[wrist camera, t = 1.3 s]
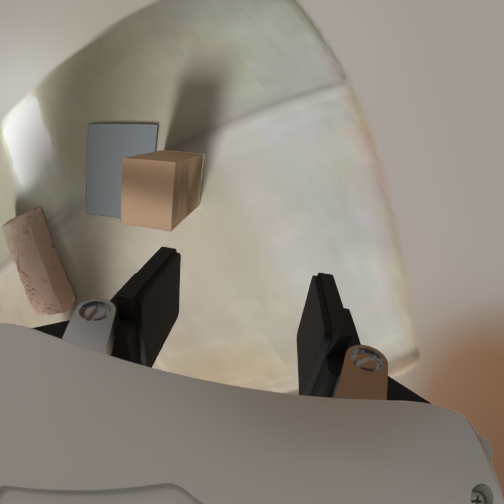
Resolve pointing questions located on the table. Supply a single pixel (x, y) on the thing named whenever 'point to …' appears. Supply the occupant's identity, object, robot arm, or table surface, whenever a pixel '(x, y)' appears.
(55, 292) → the brick
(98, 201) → the mat
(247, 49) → the table surface
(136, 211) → the block
